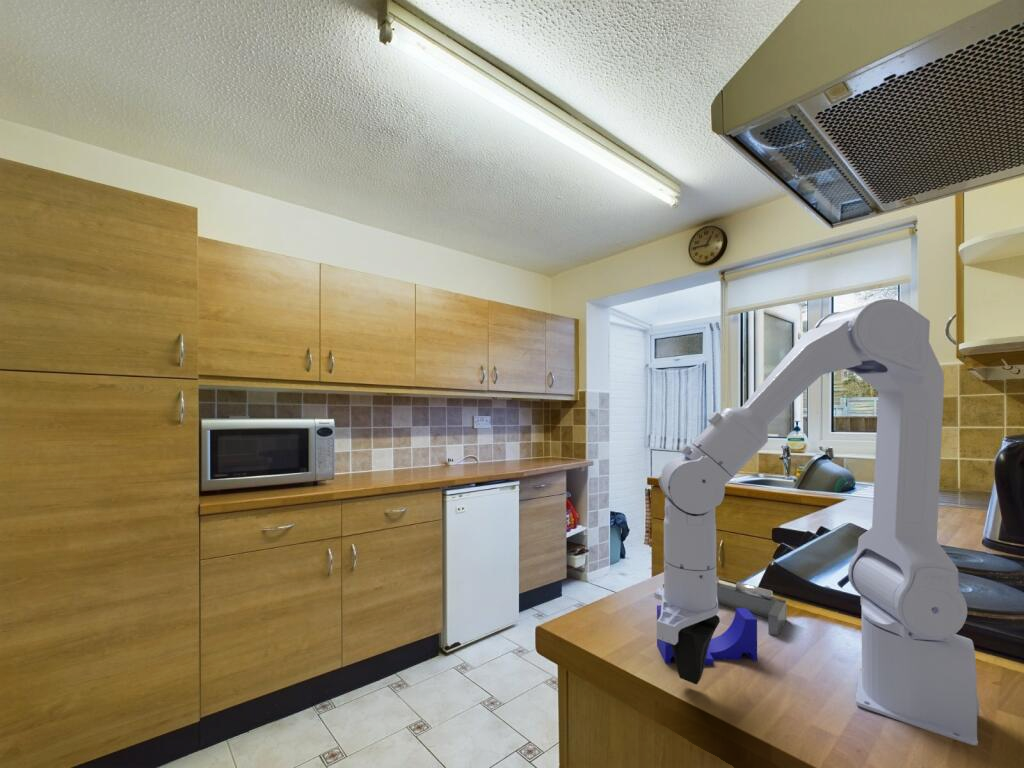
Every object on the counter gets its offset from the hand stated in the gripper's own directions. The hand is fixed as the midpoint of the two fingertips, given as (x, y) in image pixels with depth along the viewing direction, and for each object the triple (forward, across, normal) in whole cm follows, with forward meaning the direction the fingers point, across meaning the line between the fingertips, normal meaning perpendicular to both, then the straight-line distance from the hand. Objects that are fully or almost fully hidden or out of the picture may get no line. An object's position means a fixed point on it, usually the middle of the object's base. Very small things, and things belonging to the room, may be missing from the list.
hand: (689, 678), depth 54 cm
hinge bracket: (+2, -22, -3) cm, 22 cm away
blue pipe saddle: (+2, -9, -1) cm, 9 cm away
